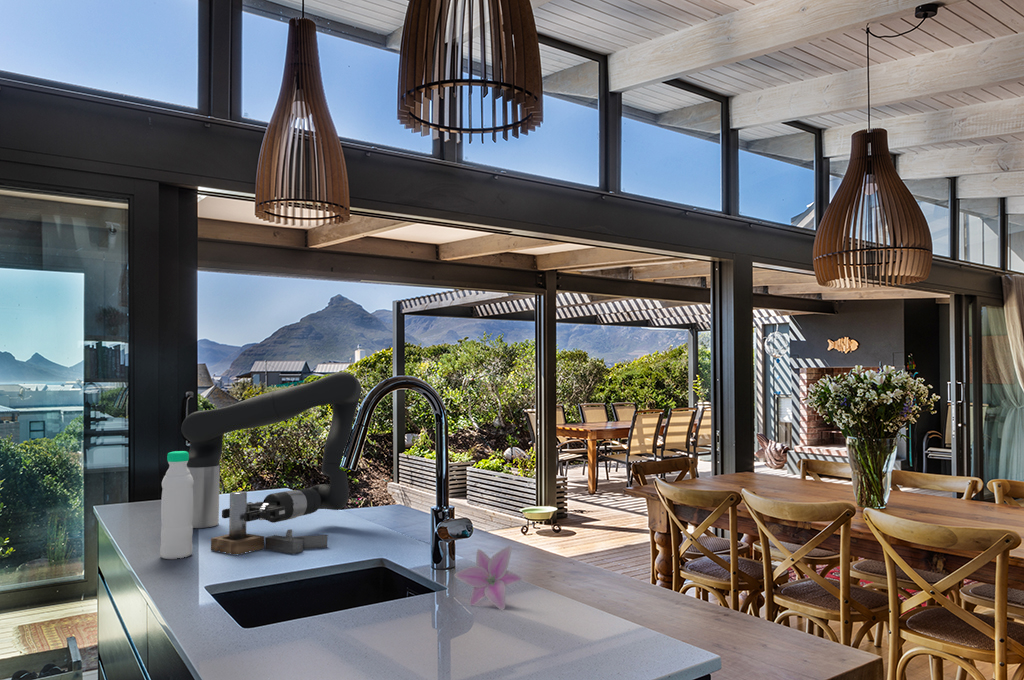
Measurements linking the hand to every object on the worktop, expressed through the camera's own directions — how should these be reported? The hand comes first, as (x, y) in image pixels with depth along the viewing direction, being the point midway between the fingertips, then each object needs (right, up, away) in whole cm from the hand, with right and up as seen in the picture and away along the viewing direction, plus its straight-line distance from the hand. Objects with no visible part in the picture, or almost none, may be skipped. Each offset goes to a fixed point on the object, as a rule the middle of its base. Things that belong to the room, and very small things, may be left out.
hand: (233, 515), depth 180 cm
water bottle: (-12, -8, -6) cm, 16 cm away
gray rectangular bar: (+1, -9, +1) cm, 9 cm away
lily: (+65, -6, -42) cm, 78 cm away
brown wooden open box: (+1, -9, +1) cm, 9 cm away
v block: (+14, -9, +2) cm, 17 cm away
